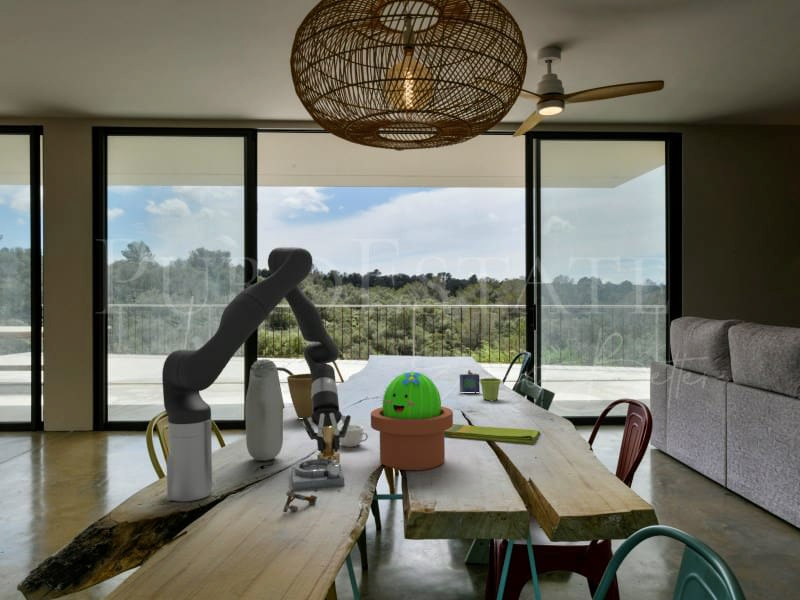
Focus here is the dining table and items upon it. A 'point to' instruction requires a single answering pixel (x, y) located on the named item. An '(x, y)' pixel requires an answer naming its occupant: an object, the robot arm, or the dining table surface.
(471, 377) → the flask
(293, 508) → the brown thin angular piece
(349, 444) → the teacup
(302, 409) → the plant pot
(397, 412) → the potted cactus
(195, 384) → the robot arm
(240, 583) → the dining table surface
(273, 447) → the white rounded cylinder
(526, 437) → the dish towel
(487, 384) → the plant pot
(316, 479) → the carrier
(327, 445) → the gear
